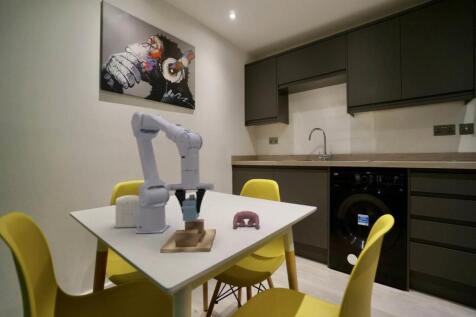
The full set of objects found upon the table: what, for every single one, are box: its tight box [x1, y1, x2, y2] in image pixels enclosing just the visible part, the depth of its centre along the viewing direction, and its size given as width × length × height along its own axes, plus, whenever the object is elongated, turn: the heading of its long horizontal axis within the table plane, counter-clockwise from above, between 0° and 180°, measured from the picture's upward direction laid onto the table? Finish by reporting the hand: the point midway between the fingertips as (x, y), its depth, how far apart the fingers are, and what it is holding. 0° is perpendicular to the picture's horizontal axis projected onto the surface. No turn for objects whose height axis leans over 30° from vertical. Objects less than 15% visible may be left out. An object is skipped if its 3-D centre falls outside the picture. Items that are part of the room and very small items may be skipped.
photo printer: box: [115, 194, 142, 228], centre depth 85 cm, size 10×4×12 cm, turn 94°
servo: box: [180, 194, 200, 222], centre depth 69 cm, size 4×10×7 cm, turn 0°
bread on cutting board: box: [159, 218, 217, 254], centre depth 69 cm, size 14×16×5 cm
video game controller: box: [232, 210, 260, 230], centre depth 82 cm, size 10×5×7 cm, turn 85°
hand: (191, 212), depth 69 cm, fingers closed on servo, 4 cm apart
